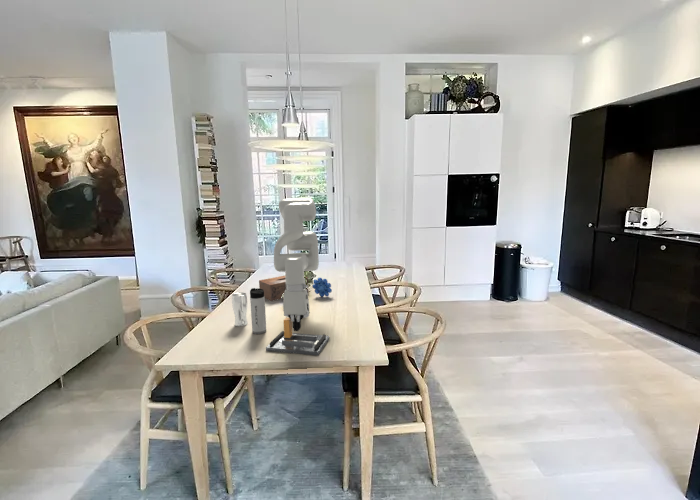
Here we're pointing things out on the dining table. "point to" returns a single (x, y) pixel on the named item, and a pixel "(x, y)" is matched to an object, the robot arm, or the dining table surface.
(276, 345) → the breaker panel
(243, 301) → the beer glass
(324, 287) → the blue lobed wheel
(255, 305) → the travel mug
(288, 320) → the lever
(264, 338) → the dining table surface
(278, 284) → the tissue box cover
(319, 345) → the tray
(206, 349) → the dining table surface
